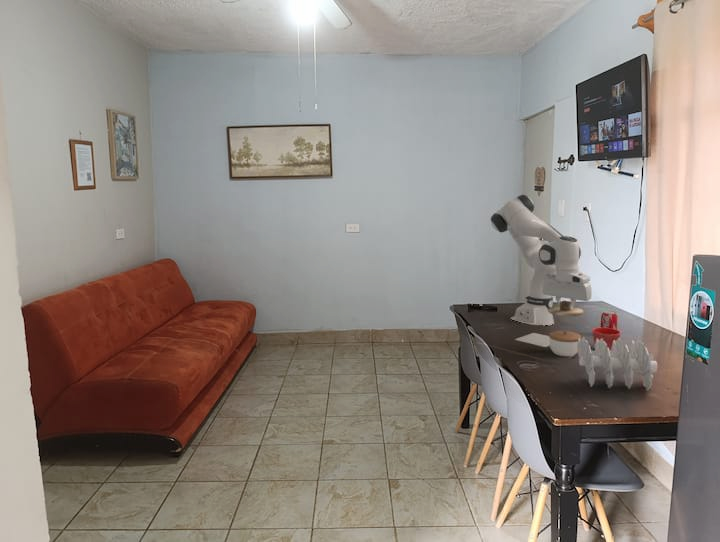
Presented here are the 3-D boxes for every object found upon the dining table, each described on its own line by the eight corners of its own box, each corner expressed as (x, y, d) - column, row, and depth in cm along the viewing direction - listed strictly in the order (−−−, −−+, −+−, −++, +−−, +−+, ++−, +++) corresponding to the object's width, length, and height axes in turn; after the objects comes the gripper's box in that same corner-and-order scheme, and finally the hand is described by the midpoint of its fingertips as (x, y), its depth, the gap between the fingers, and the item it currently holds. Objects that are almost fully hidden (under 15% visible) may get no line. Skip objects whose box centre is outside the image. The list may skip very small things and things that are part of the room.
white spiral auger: (655, 403, 178) (579, 395, 183) (643, 367, 192) (572, 360, 197) (670, 366, 168) (589, 359, 173) (656, 330, 182) (581, 324, 187)
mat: (514, 341, 240) (514, 339, 239) (533, 334, 249) (533, 332, 249) (545, 349, 227) (545, 347, 227) (564, 341, 237) (564, 339, 237)
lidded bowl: (584, 354, 219) (585, 329, 217) (573, 362, 210) (574, 336, 208) (555, 349, 227) (556, 325, 225) (543, 356, 218) (544, 331, 216)
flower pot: (608, 358, 213) (609, 335, 212) (586, 351, 223) (587, 329, 222) (625, 353, 218) (626, 331, 217) (602, 347, 228) (603, 326, 226)
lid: (541, 311, 216) (541, 301, 216) (558, 306, 225) (558, 296, 224) (572, 317, 206) (572, 307, 205) (589, 311, 214) (590, 301, 214)
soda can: (618, 339, 239) (619, 314, 237) (602, 338, 241) (603, 313, 239) (614, 334, 246) (615, 310, 244) (598, 334, 247) (599, 310, 245)
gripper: (540, 273, 219) (539, 305, 221) (586, 279, 203) (584, 313, 205) (548, 272, 223) (547, 303, 225) (594, 277, 207) (592, 310, 209)
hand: (565, 308), depth 215 cm, fingers closed on lid, 3 cm apart
